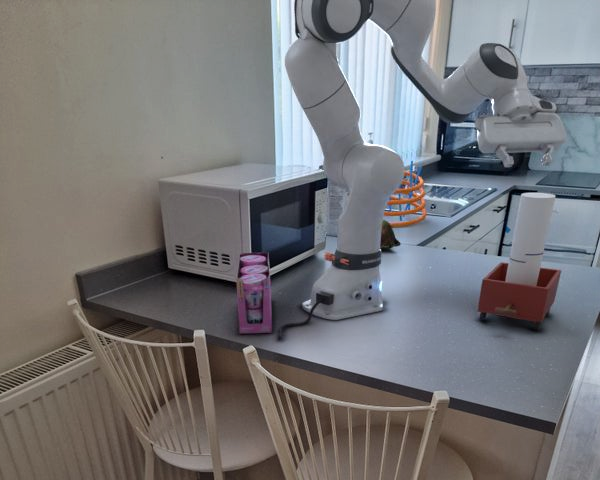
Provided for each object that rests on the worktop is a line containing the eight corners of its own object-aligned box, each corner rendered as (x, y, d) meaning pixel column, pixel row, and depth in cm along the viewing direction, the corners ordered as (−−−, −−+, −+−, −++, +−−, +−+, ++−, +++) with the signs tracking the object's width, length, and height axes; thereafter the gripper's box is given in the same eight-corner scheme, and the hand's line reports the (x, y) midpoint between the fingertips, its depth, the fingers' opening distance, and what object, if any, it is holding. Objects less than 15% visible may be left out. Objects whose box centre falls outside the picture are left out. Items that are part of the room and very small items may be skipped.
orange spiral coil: (436, 217, 244) (446, 161, 230) (406, 239, 220) (415, 178, 206) (368, 204, 259) (373, 151, 245) (333, 223, 235) (336, 165, 220)
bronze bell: (336, 224, 189) (379, 203, 192) (339, 249, 198) (380, 229, 201) (362, 249, 180) (407, 227, 182) (364, 274, 189) (406, 253, 192)
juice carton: (339, 237, 210) (341, 162, 196) (316, 234, 215) (316, 161, 201) (349, 232, 217) (351, 160, 203) (326, 230, 221) (327, 159, 208)
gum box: (272, 335, 126) (270, 279, 119) (238, 336, 126) (234, 280, 119) (271, 301, 147) (269, 251, 140) (242, 302, 147) (238, 252, 140)
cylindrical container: (534, 308, 128) (558, 198, 116) (503, 306, 129) (523, 197, 117) (529, 298, 134) (552, 192, 122) (500, 296, 136) (519, 192, 123)
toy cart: (533, 342, 120) (543, 295, 115) (468, 330, 127) (475, 285, 122) (551, 312, 136) (561, 270, 131) (493, 303, 143) (500, 262, 138)
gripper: (478, 104, 121) (492, 156, 117) (561, 103, 124) (577, 153, 120) (467, 126, 127) (479, 175, 123) (546, 123, 130) (561, 172, 126)
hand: (528, 164), depth 122 cm, fingers open, 8 cm apart
